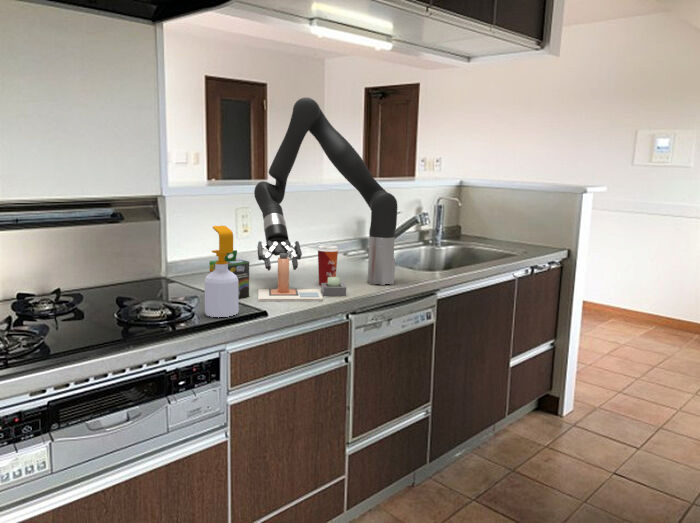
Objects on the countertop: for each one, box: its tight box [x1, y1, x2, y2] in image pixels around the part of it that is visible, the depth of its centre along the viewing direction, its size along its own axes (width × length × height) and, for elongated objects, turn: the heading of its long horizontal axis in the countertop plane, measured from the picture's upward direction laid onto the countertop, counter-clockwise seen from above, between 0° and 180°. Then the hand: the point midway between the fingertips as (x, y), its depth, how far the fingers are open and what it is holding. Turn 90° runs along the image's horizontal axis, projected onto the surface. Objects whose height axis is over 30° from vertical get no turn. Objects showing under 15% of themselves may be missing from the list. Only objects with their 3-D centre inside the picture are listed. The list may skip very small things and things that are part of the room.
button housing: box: [320, 282, 347, 297], centre depth 189 cm, size 7×7×3 cm
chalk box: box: [209, 249, 250, 299], centre depth 180 cm, size 9×9×15 cm
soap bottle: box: [204, 225, 239, 319], centre depth 157 cm, size 9×9×25 cm
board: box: [257, 288, 324, 302], centre depth 184 cm, size 20×14×1 cm
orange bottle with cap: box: [277, 253, 290, 293], centre depth 184 cm, size 4×4×13 cm
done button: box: [328, 276, 341, 287], centre depth 188 cm, size 4×4×4 cm
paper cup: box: [316, 244, 340, 285], centre depth 201 cm, size 8×8×14 cm
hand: (282, 268), depth 186 cm, fingers open, 8 cm apart
